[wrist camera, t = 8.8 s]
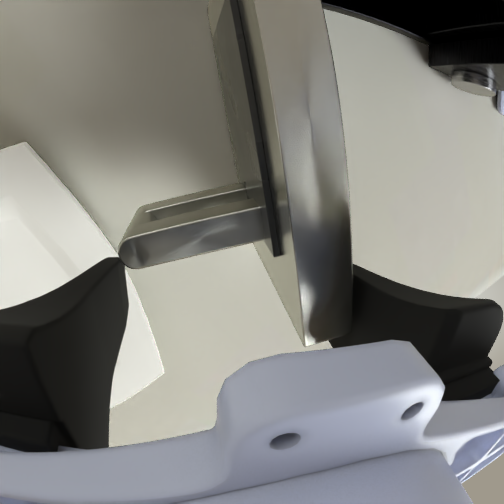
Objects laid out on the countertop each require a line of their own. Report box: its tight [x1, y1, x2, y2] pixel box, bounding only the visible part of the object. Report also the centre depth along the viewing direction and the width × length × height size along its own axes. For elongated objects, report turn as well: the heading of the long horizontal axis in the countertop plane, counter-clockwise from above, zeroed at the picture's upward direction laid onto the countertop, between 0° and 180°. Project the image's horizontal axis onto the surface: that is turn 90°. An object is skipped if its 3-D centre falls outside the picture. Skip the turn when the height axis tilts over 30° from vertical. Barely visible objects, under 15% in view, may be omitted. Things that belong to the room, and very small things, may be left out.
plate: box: [0, 142, 165, 408], centre depth 16 cm, size 19×19×2 cm
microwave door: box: [118, 0, 353, 347], centre depth 11 cm, size 7×13×10 cm, turn 10°
